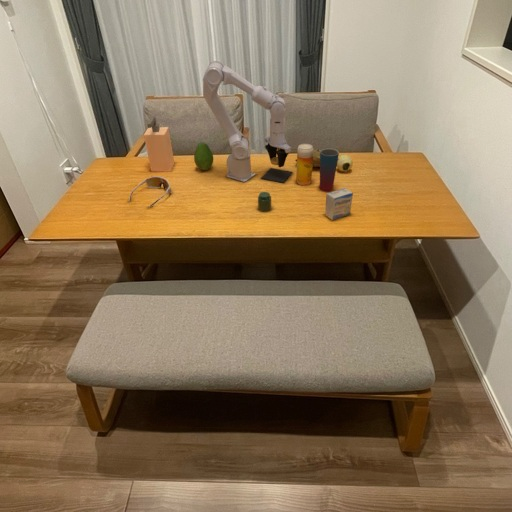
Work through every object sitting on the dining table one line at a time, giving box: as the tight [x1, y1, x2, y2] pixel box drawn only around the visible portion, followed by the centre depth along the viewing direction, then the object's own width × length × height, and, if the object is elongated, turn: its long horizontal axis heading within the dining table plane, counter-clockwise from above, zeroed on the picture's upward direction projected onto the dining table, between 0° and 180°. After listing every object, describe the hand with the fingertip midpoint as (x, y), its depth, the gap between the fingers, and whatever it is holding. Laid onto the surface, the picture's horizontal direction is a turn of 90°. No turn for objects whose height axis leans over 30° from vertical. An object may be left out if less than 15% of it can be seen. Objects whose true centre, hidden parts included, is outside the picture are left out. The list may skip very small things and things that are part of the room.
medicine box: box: [324, 188, 354, 221], centre depth 133 cm, size 8×4×9 cm, turn 117°
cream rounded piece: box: [336, 154, 354, 172], centre depth 160 cm, size 6×7×7 cm
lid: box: [270, 156, 279, 166], centre depth 156 cm, size 5×5×1 cm
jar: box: [257, 191, 272, 213], centre depth 138 cm, size 5×5×6 cm
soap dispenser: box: [143, 115, 175, 173], centre depth 161 cm, size 13×9×22 cm
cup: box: [319, 147, 340, 193], centre depth 146 cm, size 7×7×15 cm
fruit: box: [193, 142, 214, 171], centre depth 163 cm, size 8×8×12 cm
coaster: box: [260, 167, 294, 184], centre depth 160 cm, size 10×10×1 cm
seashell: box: [295, 148, 322, 168], centre depth 163 cm, size 11×15×10 cm
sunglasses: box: [128, 175, 172, 208], centre depth 149 cm, size 14×15×5 cm
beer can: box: [295, 143, 315, 186], centre depth 150 cm, size 6×6×15 cm
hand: (277, 164), depth 157 cm, fingers closed on lid, 5 cm apart
